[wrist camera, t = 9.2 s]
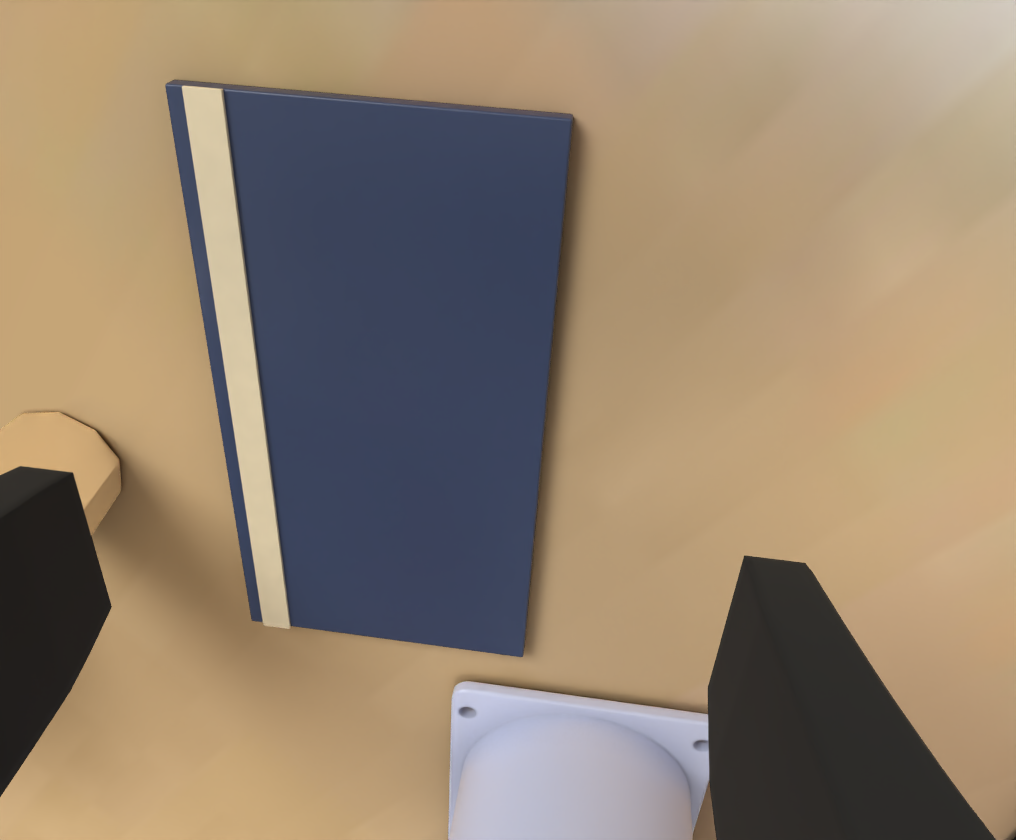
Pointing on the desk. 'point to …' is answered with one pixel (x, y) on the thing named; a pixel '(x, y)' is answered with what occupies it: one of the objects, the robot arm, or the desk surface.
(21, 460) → the milkshake
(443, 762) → the desk surface
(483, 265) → the blue notebook
